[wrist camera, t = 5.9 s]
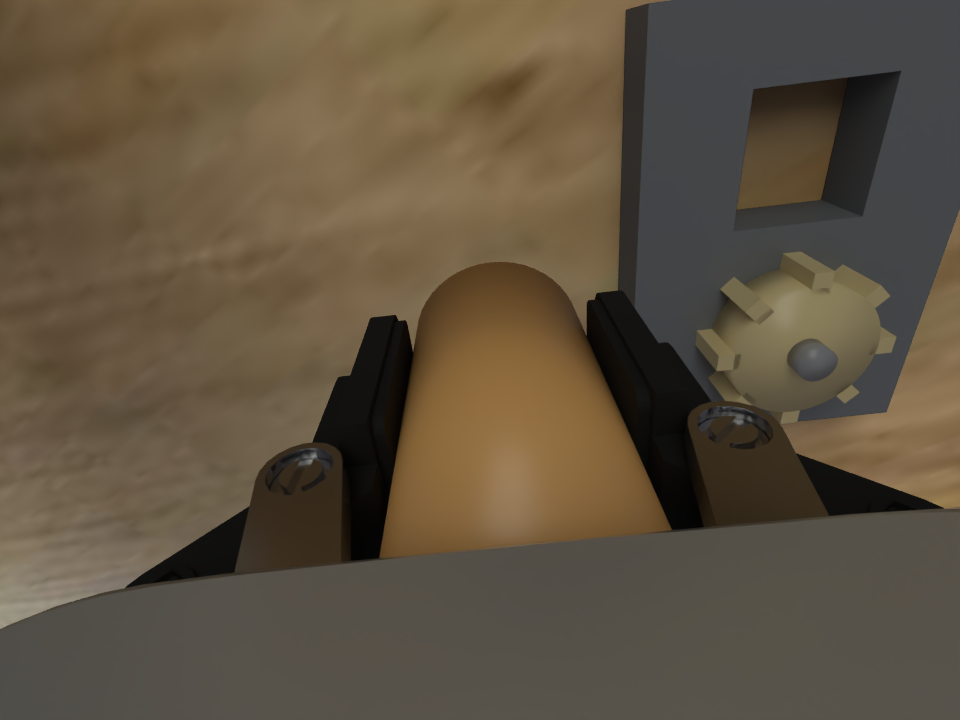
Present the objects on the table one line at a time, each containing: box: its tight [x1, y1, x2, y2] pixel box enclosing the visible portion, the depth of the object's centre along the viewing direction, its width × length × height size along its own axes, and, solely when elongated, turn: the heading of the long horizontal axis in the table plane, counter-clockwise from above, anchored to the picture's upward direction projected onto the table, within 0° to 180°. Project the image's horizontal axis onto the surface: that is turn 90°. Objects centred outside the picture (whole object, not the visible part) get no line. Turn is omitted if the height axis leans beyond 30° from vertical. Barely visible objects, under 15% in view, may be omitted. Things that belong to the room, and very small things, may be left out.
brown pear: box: [379, 262, 672, 558], centre depth 9 cm, size 4×4×8 cm
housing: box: [618, 0, 960, 424], centre depth 23 cm, size 20×14×6 cm
